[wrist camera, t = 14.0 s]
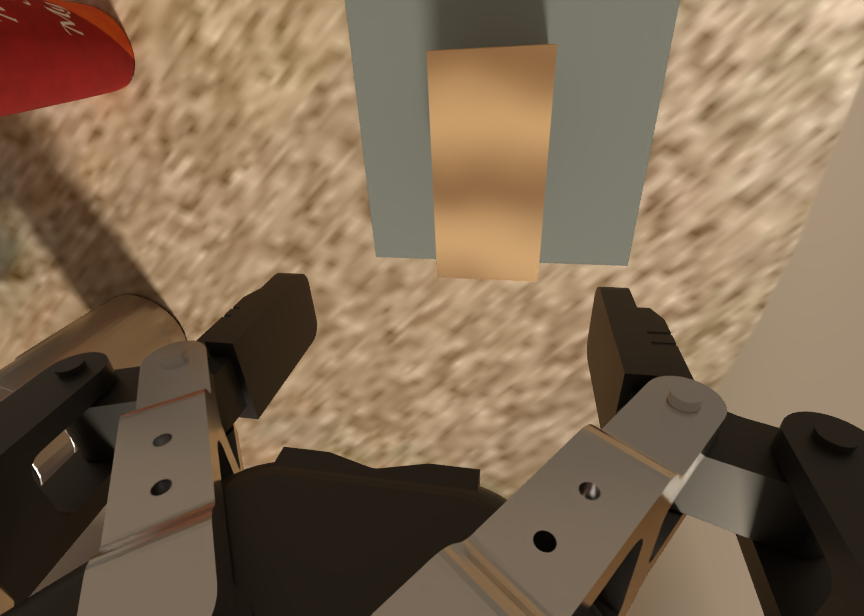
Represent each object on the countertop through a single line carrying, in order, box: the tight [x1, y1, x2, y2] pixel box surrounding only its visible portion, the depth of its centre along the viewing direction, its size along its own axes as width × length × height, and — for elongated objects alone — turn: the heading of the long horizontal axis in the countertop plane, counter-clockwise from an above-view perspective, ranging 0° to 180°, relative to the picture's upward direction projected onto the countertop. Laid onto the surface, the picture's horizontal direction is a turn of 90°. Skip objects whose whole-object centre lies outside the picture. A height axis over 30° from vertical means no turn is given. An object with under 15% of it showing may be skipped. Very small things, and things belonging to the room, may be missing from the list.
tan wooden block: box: [426, 44, 557, 281], centre depth 27 cm, size 12×6×9 cm, turn 3°
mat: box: [345, 0, 680, 266], centre depth 31 cm, size 20×18×1 cm
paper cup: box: [0, 0, 135, 117], centre depth 28 cm, size 8×8×14 cm
